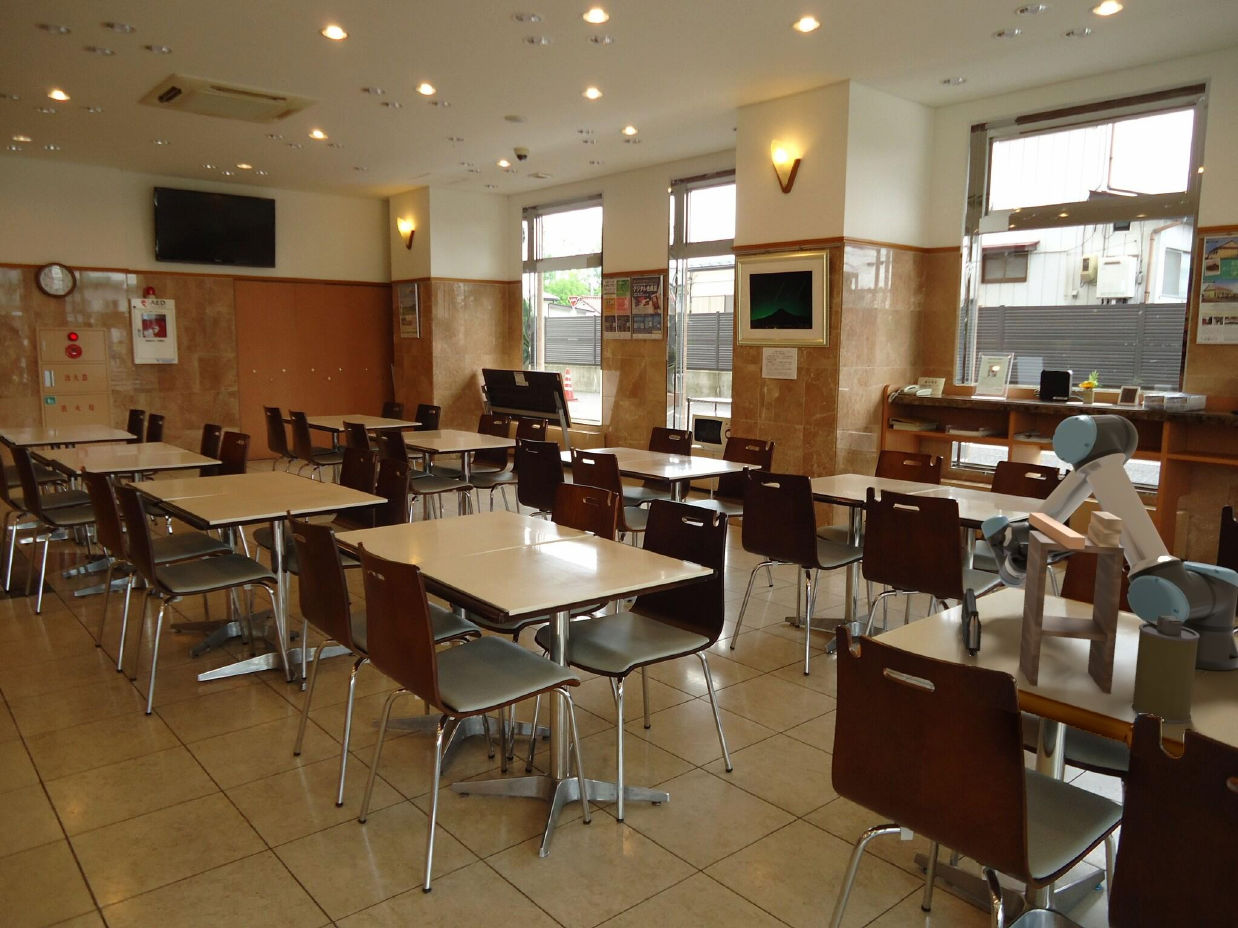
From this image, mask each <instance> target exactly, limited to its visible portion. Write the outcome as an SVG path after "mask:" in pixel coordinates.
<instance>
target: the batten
mask: <svg viewBox="0 0 1238 928" xmlns="http://www.w3.org/2000/svg"><path fill="white" fill-rule="evenodd" d="M1028 519H1029V523H1030V524H1031V525H1033V526H1034V527H1036V528H1038V529H1039V530H1041V531H1042V532H1044V533H1045V534H1047V535H1048V536H1050V537H1052V538H1053V539H1055V540H1056V541H1058V542H1059V543H1061V544H1062V545H1064V546H1066V547H1067V548H1069V549H1085V537H1084V536H1082V535H1080V534H1081V533H1079V532H1077V531H1074V529H1071V528H1069V527H1068V526H1066V525H1065V524H1064V523H1063V524H1061V523H1059V522H1058V521H1056V520H1054V519H1052V518H1051V517H1049V516H1047V515H1045V514H1044V513H1035V512H1029V516H1028Z"/></svg>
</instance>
